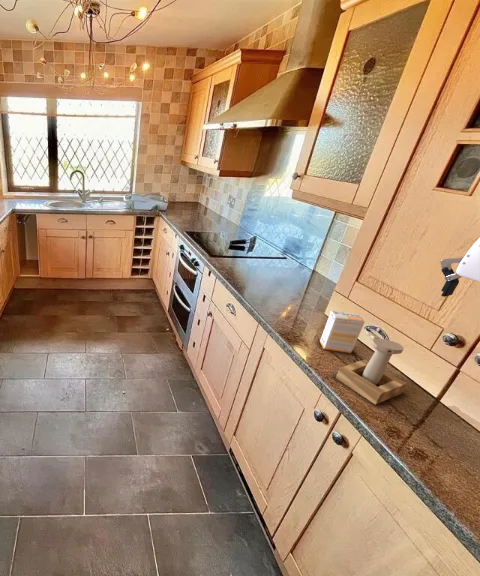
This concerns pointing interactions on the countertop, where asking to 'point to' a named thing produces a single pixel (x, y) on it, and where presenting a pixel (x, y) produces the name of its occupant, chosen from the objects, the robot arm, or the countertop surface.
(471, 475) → the countertop surface
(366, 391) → the socket block
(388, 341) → the handle
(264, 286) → the countertop surface
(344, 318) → the supplement box
